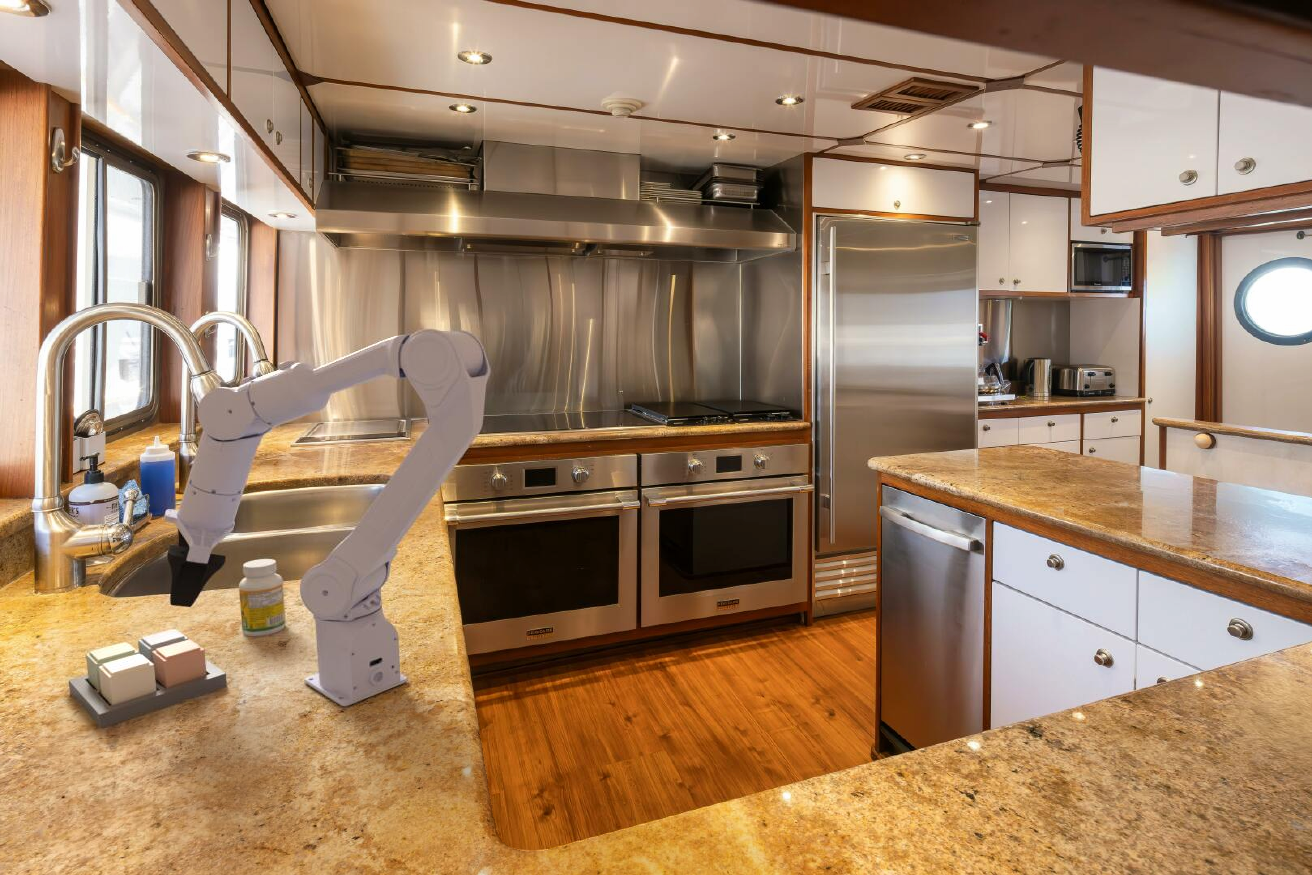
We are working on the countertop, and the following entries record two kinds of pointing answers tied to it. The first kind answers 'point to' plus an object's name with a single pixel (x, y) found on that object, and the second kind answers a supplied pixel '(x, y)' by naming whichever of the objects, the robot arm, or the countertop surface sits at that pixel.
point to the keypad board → (142, 697)
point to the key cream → (127, 679)
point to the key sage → (106, 659)
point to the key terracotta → (179, 663)
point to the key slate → (159, 642)
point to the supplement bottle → (261, 598)
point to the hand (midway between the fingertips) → (183, 587)
